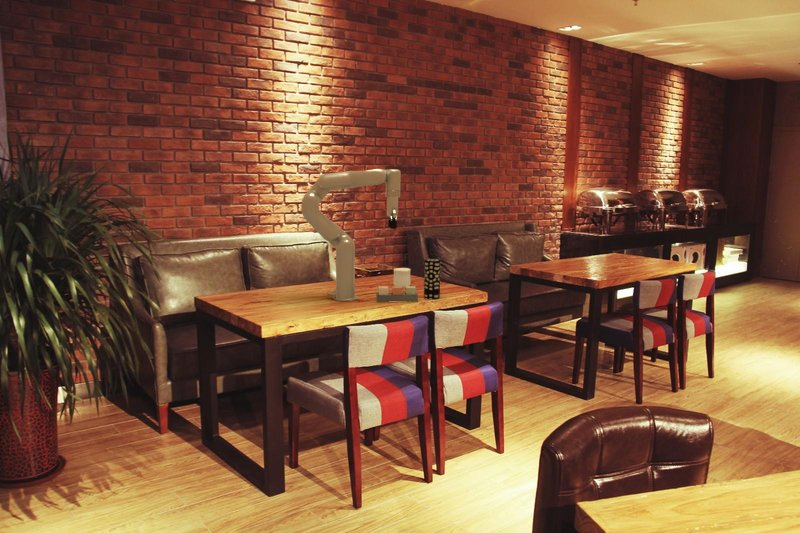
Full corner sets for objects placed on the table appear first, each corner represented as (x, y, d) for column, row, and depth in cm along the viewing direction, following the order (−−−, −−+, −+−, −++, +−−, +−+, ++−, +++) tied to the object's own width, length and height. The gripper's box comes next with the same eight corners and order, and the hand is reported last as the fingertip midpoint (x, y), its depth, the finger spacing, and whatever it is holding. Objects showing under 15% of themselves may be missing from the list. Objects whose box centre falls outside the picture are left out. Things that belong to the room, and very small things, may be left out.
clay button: (392, 297, 326) (392, 288, 325) (391, 295, 330) (391, 286, 330) (402, 297, 326) (402, 287, 326) (401, 295, 331) (401, 286, 330)
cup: (391, 286, 365) (391, 269, 364) (396, 283, 375) (396, 267, 373) (407, 288, 363) (407, 270, 361) (412, 284, 372) (412, 268, 371)
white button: (378, 297, 325) (378, 288, 324) (378, 296, 330) (378, 286, 329) (388, 297, 326) (388, 288, 325) (387, 295, 330) (387, 286, 329)
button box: (376, 302, 324) (377, 295, 324) (376, 299, 331) (376, 292, 330) (417, 301, 326) (418, 295, 326) (416, 299, 333) (416, 292, 333)
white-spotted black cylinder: (438, 299, 332) (439, 261, 329) (422, 299, 333) (423, 260, 330) (440, 296, 340) (441, 259, 337) (425, 295, 341) (425, 258, 338)
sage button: (406, 297, 327) (406, 287, 326) (405, 295, 331) (405, 286, 330) (415, 297, 327) (415, 287, 326) (414, 295, 332) (414, 286, 331)
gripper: (384, 193, 333) (383, 226, 336) (387, 194, 316) (386, 229, 319) (398, 193, 334) (398, 226, 337) (402, 194, 317) (401, 229, 320)
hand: (392, 227), depth 328 cm, fingers open, 9 cm apart
